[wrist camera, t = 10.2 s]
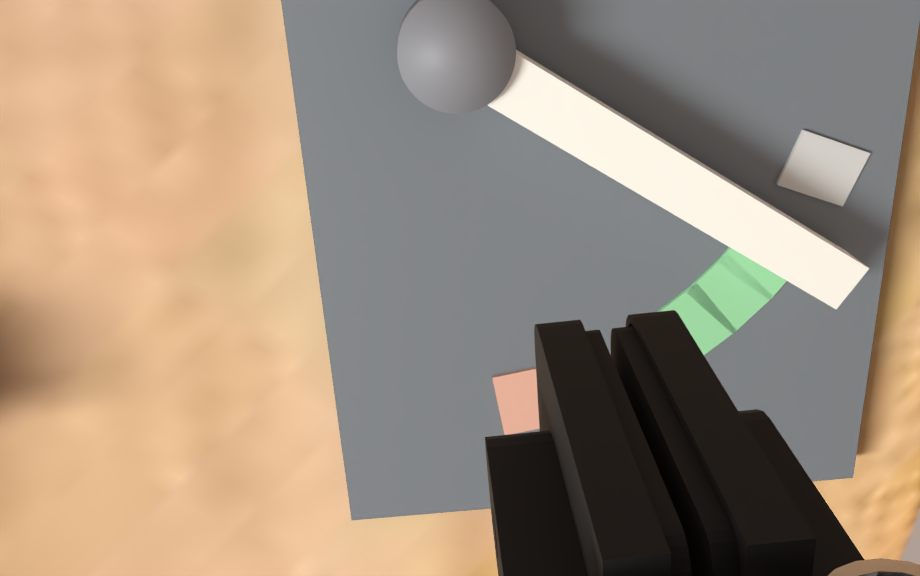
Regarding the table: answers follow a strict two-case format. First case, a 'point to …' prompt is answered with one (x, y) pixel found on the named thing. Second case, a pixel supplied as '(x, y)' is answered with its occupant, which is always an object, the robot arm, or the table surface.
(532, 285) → the dial board
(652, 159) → the pointer
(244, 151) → the table surface
